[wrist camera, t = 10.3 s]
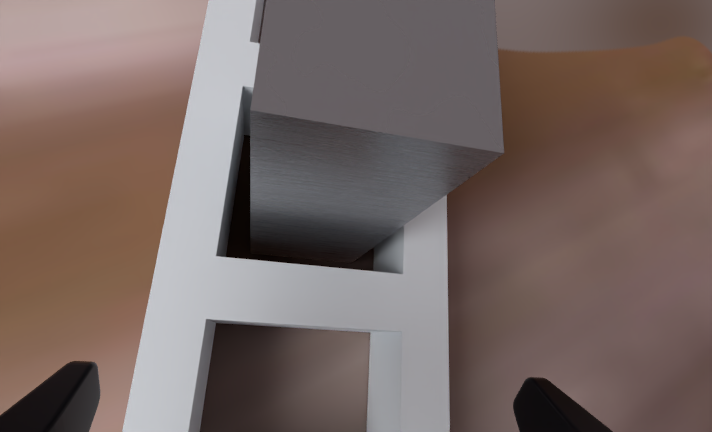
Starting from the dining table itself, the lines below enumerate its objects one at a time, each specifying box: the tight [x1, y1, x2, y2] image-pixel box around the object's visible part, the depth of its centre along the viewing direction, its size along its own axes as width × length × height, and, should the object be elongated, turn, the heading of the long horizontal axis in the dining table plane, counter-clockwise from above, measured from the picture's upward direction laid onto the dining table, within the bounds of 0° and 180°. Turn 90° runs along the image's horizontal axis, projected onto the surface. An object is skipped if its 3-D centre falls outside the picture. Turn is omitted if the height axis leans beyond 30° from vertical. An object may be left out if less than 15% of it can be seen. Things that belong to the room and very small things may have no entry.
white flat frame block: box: [122, 0, 450, 432], centre depth 17 cm, size 28×10×4 cm, turn 176°
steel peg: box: [250, 0, 504, 263], centre depth 13 cm, size 4×4×12 cm
